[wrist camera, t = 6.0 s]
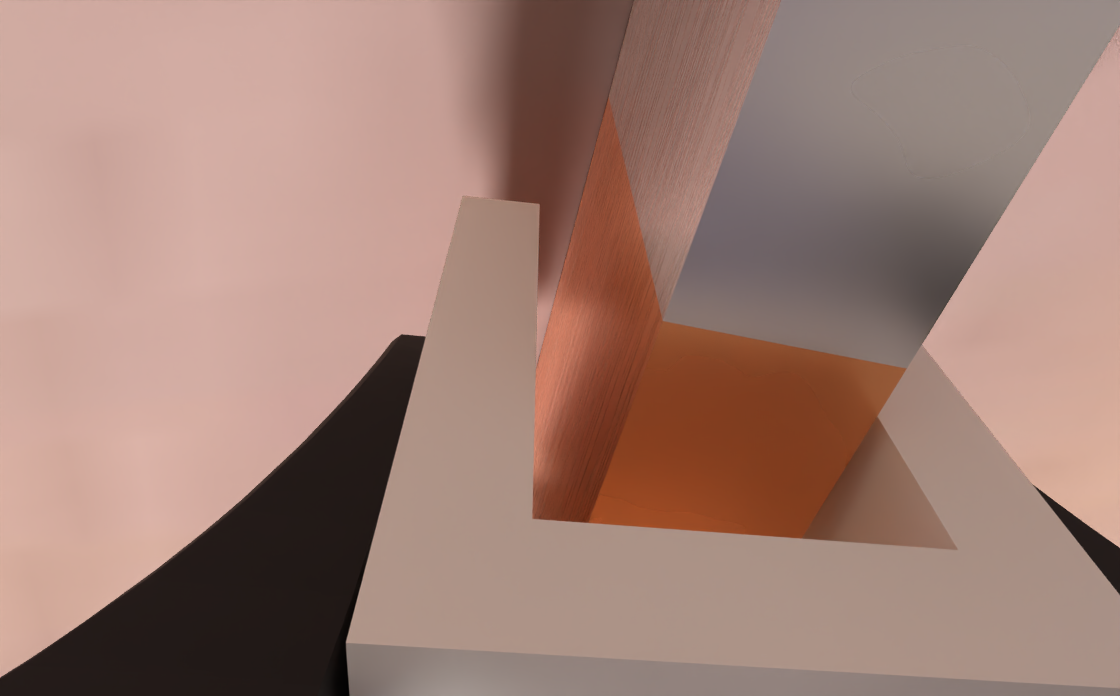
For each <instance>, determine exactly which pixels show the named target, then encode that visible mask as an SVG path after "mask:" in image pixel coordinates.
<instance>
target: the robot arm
mask: <svg viewBox="0 0 1120 696" xmlns="http://www.w3.org/2000/svg"><path fill="white" fill-rule="evenodd" d="M425 338H426V337H424V336H413V335H400V336H399V337H398V338H396V339H395V340H394V341H392V342H391V344H390V345H389V346H388V348H387V349H386V350H385V352H384V353H383V354H382V355H381V357H380V358H379V359H378V360H377V361H376V363H375V364H374V365H373V366H372V368H371V369H370V370H369V371H368V372H367V374H366V375H365V376H364V377H363V378H362V379H361V381H360V382H359V383H358V384H357V385H356V386H355V387H354V389H353V390H352V391H351V392H350V393H349V394H348V395H347V396H346V398H345V399H344V400H343V401H342V402H341V403H340V404H339V405H338V406H337V407H336V408H335V409H334V410H333V411H332V413H331V414H330V415H329V416H328V417H327V418H326V419H325V420H324V421H323V422H322V423H321V424H320V425H319V426H318V427H317V428H316V429H315V430H314V431H313V433H312V434H311V435H310V436H309V437H308V438H307V439H306V440H305V441H304V442H303V443H302V444H301V445H300V446H299V447H298V448H297V449H296V450H295V451H294V452H293V453H292V454H290V455H289V456H288V457H287V458H286V459H285V460H284V461H283V462H282V463H281V464H280V465H279V466H278V467H277V468H275V469H274V470H273V471H272V472H271V473H270V474H269V475H268V476H267V477H266V478H265V479H264V480H263V481H262V482H261V483H259V484H258V485H257V486H256V487H255V488H254V489H253V490H252V491H251V492H250V493H249V494H248V495H247V496H245V497H244V498H243V499H242V500H241V501H240V502H239V503H237V504H236V505H235V506H234V507H233V508H232V509H231V510H229V511H228V512H227V513H226V514H225V515H224V516H222V517H221V518H220V519H219V520H218V521H216V522H215V523H214V524H213V525H212V526H210V527H209V528H208V529H207V530H206V531H204V532H203V533H202V534H201V535H200V536H198V537H197V538H196V539H195V540H193V541H192V542H191V543H189V544H188V545H187V546H186V547H184V548H183V549H182V550H181V551H179V552H178V553H177V554H176V555H174V556H173V557H172V558H171V559H169V560H168V561H167V562H165V563H164V564H163V565H162V566H160V567H159V568H158V569H156V570H155V571H154V572H152V573H151V574H150V575H148V576H147V577H146V578H144V579H143V580H141V581H140V582H139V583H137V584H136V585H135V586H133V587H132V588H130V589H129V590H128V591H126V592H125V593H124V594H122V595H121V596H119V597H118V598H117V599H115V600H114V601H113V602H111V603H110V604H108V605H107V606H106V607H104V608H103V609H101V610H100V611H99V612H97V613H96V614H95V615H93V616H92V617H90V618H89V619H88V620H86V621H85V622H84V623H82V624H81V625H79V626H78V627H76V628H75V629H73V630H72V631H70V632H69V633H68V634H66V635H65V636H63V637H62V638H60V639H59V640H57V641H56V642H54V643H53V644H51V645H50V646H48V647H47V648H45V649H44V650H42V651H41V652H39V653H38V654H36V655H35V656H33V657H32V658H31V659H29V660H27V661H26V662H24V663H23V664H21V665H20V666H18V667H16V668H15V669H13V670H12V671H10V672H8V673H7V674H5V675H4V676H2V677H0V696H350V695H349V681H348V667H347V653H346V640H347V636H348V633H349V629H350V625H351V621H352V617H353V613H354V610H355V606H356V602H357V598H358V594H359V590H360V587H361V583H362V579H363V575H364V571H365V568H366V564H367V560H368V556H369V552H370V548H371V545H372V541H373V537H374V533H375V529H376V525H377V522H378V518H379V514H380V510H381V506H382V503H383V499H384V495H385V491H386V487H387V483H388V480H389V476H390V472H391V468H392V464H393V460H394V457H395V453H396V449H397V445H398V441H399V438H400V434H401V430H402V426H403V422H404V418H405V415H406V411H407V407H408V403H409V399H410V395H411V392H412V388H413V384H414V380H415V376H416V373H417V369H418V365H419V361H420V357H421V353H422V350H423V346H424V342H425ZM1032 485H1033V484H1032ZM1033 486H1034V485H1033ZM1034 487H1035V486H1034ZM1035 488H1036V490H1037V491H1038V492H1039V493H1040V495H1041V496H1042V497H1043V499H1044V500H1045V501H1046V502H1047V504H1048V505H1049V506H1050V507H1051V509H1052V510H1053V511H1054V512H1055V514H1056V515H1057V516H1058V518H1059V519H1060V520H1061V521H1062V523H1063V524H1064V525H1065V526H1066V528H1067V529H1068V530H1069V531H1070V533H1071V534H1072V535H1073V537H1074V538H1075V539H1076V540H1077V542H1078V543H1079V544H1080V545H1081V547H1082V548H1083V549H1084V550H1085V552H1086V553H1087V554H1088V555H1089V557H1090V558H1091V559H1092V561H1093V562H1094V563H1095V564H1096V566H1097V567H1098V568H1099V569H1100V571H1101V572H1102V573H1103V574H1104V576H1105V577H1106V578H1107V580H1108V581H1109V582H1110V583H1111V585H1112V586H1113V587H1114V588H1115V590H1116V591H1117V592H1118V593H1119V595H1120V548H1119V547H1118V546H1116V545H1115V544H1113V543H1112V542H1111V541H1109V540H1108V539H1106V538H1105V537H1103V536H1102V535H1101V534H1099V533H1098V532H1096V531H1095V530H1093V529H1092V528H1091V527H1089V526H1088V525H1087V524H1085V523H1084V522H1082V521H1081V520H1080V519H1078V518H1077V517H1076V516H1074V515H1073V514H1072V513H1070V512H1069V511H1067V510H1066V509H1065V508H1063V507H1062V506H1061V505H1059V504H1058V503H1057V502H1055V501H1054V500H1053V499H1051V498H1050V497H1049V496H1047V495H1046V494H1045V493H1043V492H1042V491H1041V490H1039V489H1038V488H1037V487H1035Z"/></svg>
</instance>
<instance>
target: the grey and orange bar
mask: <svg viewBox="0 0 1120 696" xmlns="http://www.w3.org/2000/svg"><path fill="white" fill-rule="evenodd" d="M1119 25H1120V0H634V2H633V6H632V10H631V14H630V17H629V21H628V25H627V29H626V33H625V36H624V40H623V44H622V48H621V51H620V55H619V59H618V63H617V66H616V70H615V74H614V78H613V82H612V85H611V89H610V93H609V97H608V100H607V104H606V108H605V112H604V115H603V119H602V123H601V127H600V131H599V134H598V138H597V142H596V146H595V149H594V153H593V157H592V161H591V164H590V168H589V172H588V176H587V180H586V183H585V187H584V191H583V195H582V198H581V202H580V206H579V210H578V213H577V217H576V221H575V225H574V229H573V232H572V236H571V240H570V244H569V247H568V251H567V255H566V259H565V262H564V266H563V270H562V274H561V278H560V281H559V285H558V289H557V293H556V296H555V300H554V304H553V308H552V311H551V315H550V319H549V323H548V327H547V330H546V334H545V338H544V342H543V345H542V349H541V353H540V357H539V361H538V364H537V368H536V382H535V424H534V467H533V509H532V519H540V520H554V521H567V522H581V523H595V524H608V525H622V526H636V527H649V528H663V529H677V530H691V531H704V532H718V533H732V534H745V535H759V536H773V537H786V538H800V539H802V537H803V535H804V534H805V532H806V531H807V529H808V527H809V526H810V524H811V523H812V521H813V519H814V518H815V516H816V515H817V513H818V511H819V510H820V508H821V506H822V505H823V503H824V502H825V500H826V498H827V497H828V495H829V494H830V492H831V490H832V489H833V487H834V485H835V484H836V482H837V481H838V479H839V477H840V476H841V474H842V473H843V471H844V469H845V468H846V466H847V464H848V463H849V461H850V460H851V458H852V456H853V455H854V453H855V452H856V450H857V448H858V447H859V445H860V443H861V442H862V440H863V439H864V437H865V435H866V434H867V432H868V431H869V429H870V427H871V426H872V424H873V423H874V421H875V419H876V418H877V416H878V414H879V413H880V411H881V410H882V408H883V406H884V405H885V403H886V402H887V400H888V398H889V397H890V395H891V393H892V392H893V390H894V389H895V387H896V385H897V384H898V382H899V381H900V379H901V377H902V376H903V374H904V372H905V371H906V369H907V368H908V366H909V364H910V363H911V361H912V360H913V358H914V356H915V355H916V353H917V351H918V350H919V348H920V347H921V345H922V343H923V342H924V340H925V339H926V337H927V335H928V334H929V332H930V330H931V329H932V327H933V326H934V324H935V322H936V321H937V319H938V318H939V316H940V314H941V313H942V311H943V310H944V308H945V306H946V305H947V303H948V301H949V300H950V298H951V297H952V295H953V293H954V292H955V290H956V289H957V287H958V285H959V284H960V282H961V280H962V279H963V277H964V276H965V274H966V272H967V271H968V269H969V268H970V266H971V264H972V263H973V261H974V259H975V258H976V256H977V255H978V253H979V251H980V250H981V248H982V247H983V245H984V243H985V242H986V240H987V238H988V237H989V235H990V234H991V232H992V230H993V229H994V227H995V226H996V224H997V222H998V221H999V219H1000V218H1001V216H1002V214H1003V213H1004V211H1005V209H1006V208H1007V206H1008V205H1009V203H1010V201H1011V200H1012V198H1013V197H1014V195H1015V193H1016V192H1017V190H1018V188H1019V187H1020V185H1021V184H1022V182H1023V180H1024V179H1025V177H1026V176H1027V174H1028V172H1029V171H1030V169H1031V167H1032V166H1033V164H1034V163H1035V161H1036V159H1037V158H1038V156H1039V155H1040V153H1041V151H1042V150H1043V148H1044V146H1045V145H1046V143H1047V142H1048V140H1049V138H1050V137H1051V135H1052V134H1053V132H1054V130H1055V129H1056V127H1057V125H1058V124H1059V122H1060V121H1061V119H1062V117H1063V116H1064V114H1065V113H1066V111H1067V109H1068V108H1069V106H1070V105H1071V103H1072V101H1073V100H1074V98H1075V96H1076V95H1077V93H1078V92H1079V90H1080V88H1081V87H1082V85H1083V84H1084V82H1085V80H1086V79H1087V77H1088V75H1089V74H1090V72H1091V71H1092V69H1093V67H1094V66H1095V64H1096V63H1097V61H1098V59H1099V58H1100V56H1101V54H1102V53H1103V51H1104V50H1105V48H1106V46H1107V45H1108V43H1109V42H1110V40H1111V38H1112V37H1113V35H1114V33H1115V32H1116V30H1117V29H1118V27H1119Z"/></svg>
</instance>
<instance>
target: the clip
mask: <svg viewBox="0 0 1120 696" xmlns="http://www.w3.org/2000/svg"><path fill="white" fill-rule="evenodd" d="M539 214H540V204H535V203H526V202H517V201H507V200H498V199H489V198H479V197H470V196H463V197H462V200H461V204H460V208H459V212H458V216H457V220H456V223H455V227H454V231H453V235H452V239H451V243H450V246H449V250H448V254H447V258H446V262H445V265H444V269H443V273H442V277H441V281H440V285H439V288H438V292H437V296H436V300H435V304H434V308H433V311H432V315H431V319H430V323H429V327H428V330H427V334H426V338H425V342H424V346H423V350H422V353H421V357H420V361H419V365H418V369H417V373H416V376H415V380H414V384H413V388H412V392H411V395H410V399H409V403H408V407H407V411H406V415H405V418H404V422H403V426H402V430H401V434H400V438H399V441H398V445H397V449H396V453H395V457H394V460H393V464H392V468H391V472H390V476H389V480H388V483H387V487H386V491H385V495H384V499H383V503H382V506H381V510H380V514H379V518H378V522H377V525H376V529H375V533H374V537H373V541H372V545H371V548H370V552H369V556H368V560H367V564H366V568H365V571H364V575H363V579H362V583H361V587H360V590H359V594H358V598H357V602H356V606H355V610H354V613H353V617H352V621H351V625H350V629H349V633H348V636H347V640H346V653H347V667H348V681H349V695H350V696H1120V595H1119V593H1118V592H1117V591H1116V590H1115V588H1114V587H1113V586H1112V585H1111V583H1110V582H1109V581H1108V580H1107V578H1106V577H1105V576H1104V574H1103V573H1102V572H1101V571H1100V569H1099V568H1098V567H1097V566H1096V564H1095V563H1094V562H1093V561H1092V559H1091V558H1090V557H1089V555H1088V554H1087V553H1086V552H1085V550H1084V549H1083V548H1082V547H1081V545H1080V544H1079V543H1078V542H1077V540H1076V539H1075V538H1074V537H1073V535H1072V534H1071V533H1070V531H1069V530H1068V529H1067V528H1066V526H1065V525H1064V524H1063V523H1062V521H1061V520H1060V519H1059V518H1058V516H1057V515H1056V514H1055V512H1054V511H1053V510H1052V509H1051V507H1050V506H1049V505H1048V504H1047V502H1046V501H1045V500H1044V499H1043V497H1042V496H1041V495H1040V493H1039V492H1038V491H1037V490H1036V488H1035V487H1034V486H1033V485H1032V483H1031V482H1030V481H1029V480H1028V478H1027V477H1026V476H1025V475H1024V473H1023V472H1022V471H1021V469H1020V468H1019V467H1018V466H1017V464H1016V463H1015V462H1014V461H1013V459H1012V458H1011V457H1010V456H1009V454H1008V453H1007V452H1006V450H1005V449H1004V448H1003V447H1002V445H1001V444H1000V443H999V442H998V440H997V439H996V438H995V437H994V435H993V434H992V433H991V432H990V430H989V429H988V428H987V426H986V425H985V424H984V423H983V421H982V420H981V419H980V418H979V416H978V415H977V414H976V413H975V411H974V410H973V409H972V407H971V406H970V405H969V404H968V402H967V401H966V400H965V399H964V397H963V396H962V395H961V394H960V392H959V391H958V390H957V388H956V387H955V386H954V385H953V383H952V382H951V381H950V380H949V378H948V377H947V376H946V375H945V373H944V372H943V371H942V370H941V368H940V367H939V366H938V364H937V363H936V362H935V361H934V359H933V358H932V357H931V356H930V354H929V353H928V352H927V351H926V349H925V348H924V347H923V345H921V347H920V348H919V350H918V351H917V353H916V355H915V356H914V358H913V360H912V361H911V363H910V364H909V366H908V368H907V369H906V371H905V372H904V374H903V376H902V377H901V379H900V381H899V382H898V384H897V385H896V387H895V389H894V390H893V392H892V393H891V395H890V397H889V398H888V400H887V402H886V403H885V405H884V406H883V408H882V410H881V411H880V413H879V414H878V416H877V418H876V419H875V421H874V423H873V424H872V426H871V427H870V429H869V431H868V432H867V434H866V435H865V437H864V439H863V440H862V442H861V443H860V445H859V447H858V448H857V450H856V452H855V453H854V455H853V456H852V458H851V460H850V461H849V463H848V464H847V466H846V468H845V469H844V471H843V473H842V474H841V476H840V477H839V479H838V481H837V482H836V484H835V485H834V487H833V489H832V490H831V492H830V494H829V495H828V497H827V498H826V500H825V502H824V503H823V505H822V506H821V508H820V510H819V511H818V513H817V515H816V516H815V518H814V519H813V521H812V523H811V524H810V526H809V527H808V529H807V531H806V532H805V534H804V535H803V537H802V539H800V538H786V537H773V536H759V535H745V534H732V533H718V532H704V531H691V530H677V529H663V528H649V527H636V526H622V525H608V524H595V523H581V522H567V521H554V520H540V519H532V509H533V467H534V424H535V382H536V340H537V298H538V256H539Z"/></svg>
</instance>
